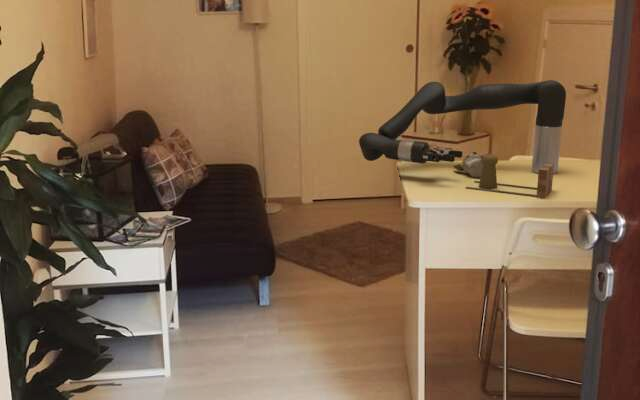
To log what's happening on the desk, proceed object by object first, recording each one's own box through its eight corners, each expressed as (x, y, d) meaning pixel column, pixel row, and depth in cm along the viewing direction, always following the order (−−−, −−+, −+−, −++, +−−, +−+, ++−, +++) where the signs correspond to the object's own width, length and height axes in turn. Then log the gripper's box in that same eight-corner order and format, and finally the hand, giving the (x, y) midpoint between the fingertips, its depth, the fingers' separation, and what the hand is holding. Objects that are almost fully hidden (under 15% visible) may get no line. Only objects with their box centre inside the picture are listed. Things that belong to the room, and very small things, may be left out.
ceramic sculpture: (467, 154, 248) (452, 149, 262) (466, 179, 250) (451, 172, 264) (496, 154, 250) (479, 149, 264) (495, 178, 251) (478, 172, 266)
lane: (475, 181, 247) (476, 155, 245) (551, 190, 236) (554, 163, 233) (465, 188, 237) (466, 162, 235) (544, 198, 225) (547, 170, 223)
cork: (497, 189, 236) (499, 157, 233) (478, 188, 237) (480, 156, 234) (496, 185, 242) (499, 153, 239) (478, 184, 243) (480, 152, 240)
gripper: (420, 158, 256) (463, 163, 249) (405, 165, 244) (450, 171, 236) (421, 138, 254) (465, 142, 247) (406, 144, 242) (452, 149, 234)
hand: (458, 156), depth 242 cm, fingers open, 8 cm apart
